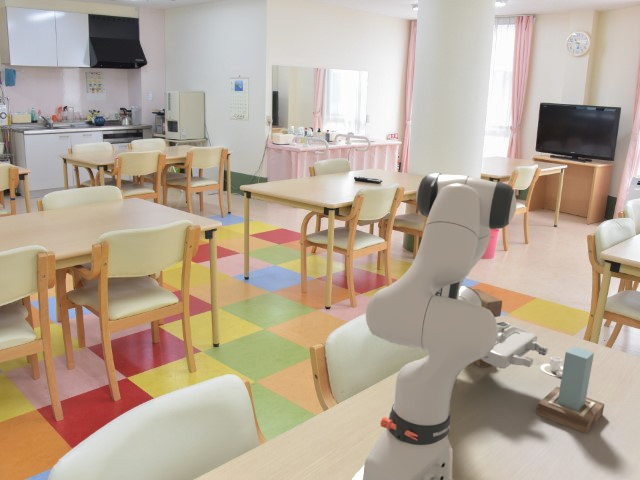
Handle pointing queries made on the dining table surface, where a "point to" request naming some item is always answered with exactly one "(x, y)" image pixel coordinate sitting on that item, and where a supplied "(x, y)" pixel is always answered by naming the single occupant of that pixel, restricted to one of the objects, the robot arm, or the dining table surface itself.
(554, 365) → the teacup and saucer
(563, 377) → the column
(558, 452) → the dining table surface
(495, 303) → the decorative block
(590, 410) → the plinth
